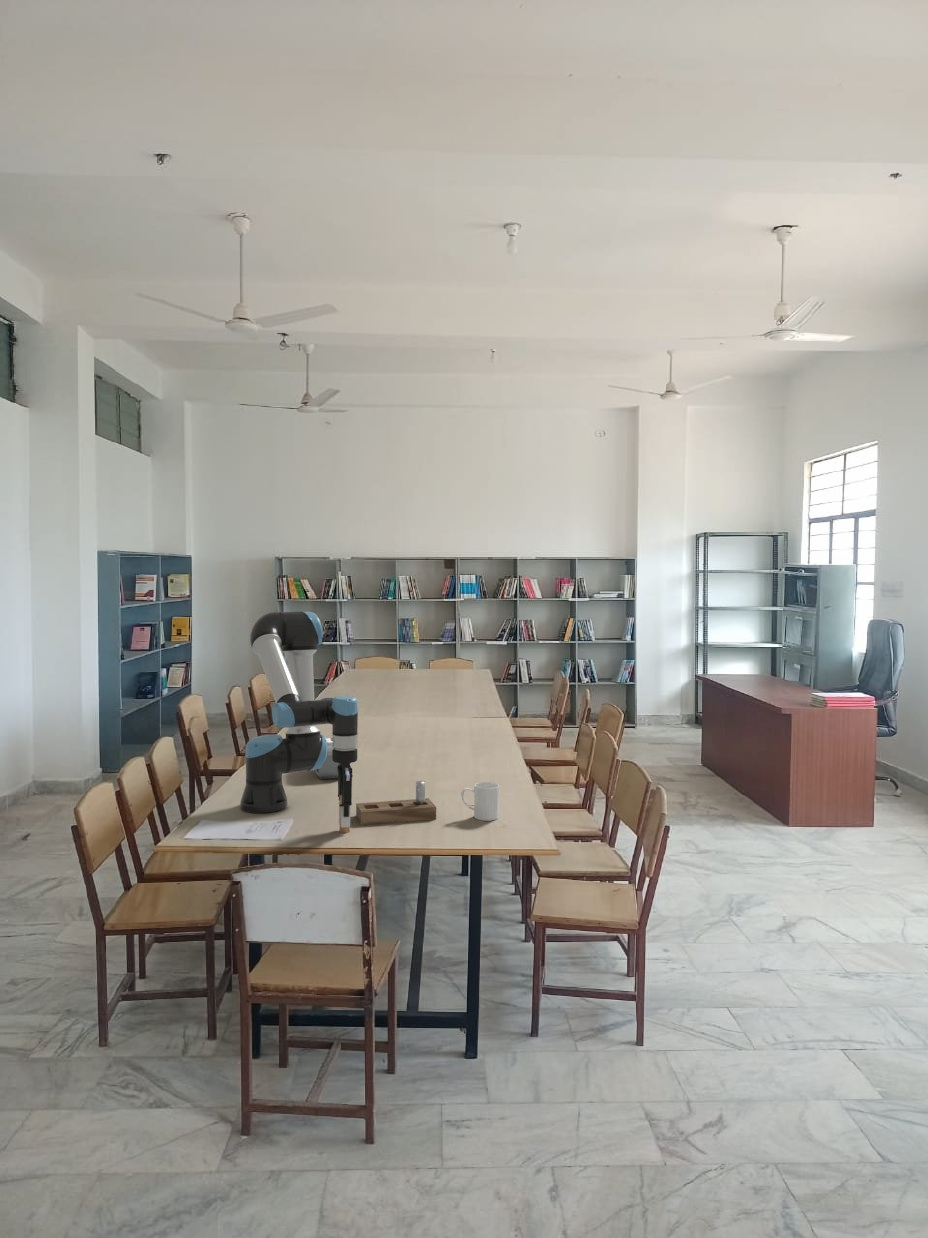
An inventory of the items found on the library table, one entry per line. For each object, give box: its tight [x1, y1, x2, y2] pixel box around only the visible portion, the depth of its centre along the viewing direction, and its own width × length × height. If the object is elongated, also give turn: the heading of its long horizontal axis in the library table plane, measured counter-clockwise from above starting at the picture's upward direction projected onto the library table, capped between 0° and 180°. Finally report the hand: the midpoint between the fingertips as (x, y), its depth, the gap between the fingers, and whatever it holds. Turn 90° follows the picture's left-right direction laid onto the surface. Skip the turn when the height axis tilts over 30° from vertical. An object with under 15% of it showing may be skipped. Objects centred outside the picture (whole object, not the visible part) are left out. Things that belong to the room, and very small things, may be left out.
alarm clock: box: [313, 737, 340, 780], centre depth 317 cm, size 21×10×13 cm, turn 18°
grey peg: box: [415, 780, 426, 806], centre depth 266 cm, size 3×3×11 cm
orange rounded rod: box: [339, 795, 351, 834], centre depth 249 cm, size 3×3×11 cm
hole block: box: [355, 797, 437, 826], centre depth 264 cm, size 10×24×4 cm, turn 107°
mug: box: [460, 781, 500, 822], centre depth 264 cm, size 12×8×10 cm, turn 103°
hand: (344, 824), depth 249 cm, fingers open, 3 cm apart
